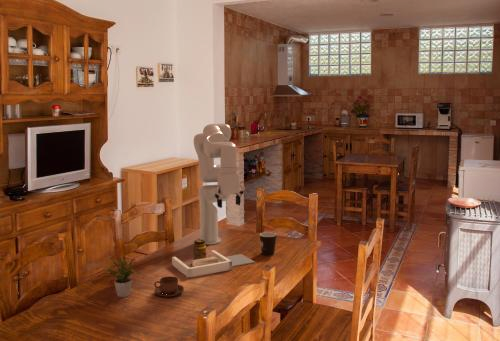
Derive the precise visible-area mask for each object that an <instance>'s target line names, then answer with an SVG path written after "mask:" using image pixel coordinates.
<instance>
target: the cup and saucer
mask: <svg viewBox="0 0 500 341" xmlns="http://www.w3.org/2000/svg"><path fill="white" fill-rule="evenodd" d="M153 284H154V293H155V294H156V295H158V296H160V297H164V298H165V297H166V298H170V297H175V296H178V295H181V294H182V293H183V292H184V288H185V287H184V286H183V285H181V284H179V278H178V277H177V276H172V275H171V276H163V277H161V278H160V280H156V281H155V282H154V283H153ZM157 284H159V286H157ZM162 293H163V294H162ZM166 294H167V295H166Z"/></svg>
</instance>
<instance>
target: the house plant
mask: <svg viewBox="0 0 500 341" xmlns="http://www.w3.org/2000/svg"><path fill="white" fill-rule="evenodd" d="M138 257H140V256H139V255H138V256H135V257H134V258H132V257H131V258H129V259H128V260H127V258H125V259H124V257H123V255H122V254H121V255H120V263H119V261H117V260H116V259H114V260H112V259H109V261H110V262H111V263H113V265H115V266H113V268H115V267H116V268H115V269H116V270H117V271H118V272H117V271H116V270H114V269H112V268H109V267H104V269H105V270H107V271H108V273H107V274H106V276H108V275H114V276H115V277H116V279H114V285H115V291H116V294H117V297H119V298H125V297H128V296H130V294H131V289H132V281H133V280H132V278H131V277H130V276H131V275H134V276H135V273H136V272H135V271H136V269H134V268H132V267H133V263H134V261H135V260H136V259H137V258H138ZM128 262H129V263H128ZM127 264H128V266H127ZM108 265H110V266H111V264H110V263H108ZM134 270H135V271H134Z"/></svg>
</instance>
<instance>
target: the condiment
mask: <svg viewBox="0 0 500 341" xmlns="http://www.w3.org/2000/svg"><path fill="white" fill-rule="evenodd" d="M193 242H194V243H193V260H197V259H204V258H207V246H206V244H205V240H202V239H199V238H198V239H196V240H194V241H193ZM186 265H187V266H188V267H190V268H191V267H192V264H191V263H188V264H186Z"/></svg>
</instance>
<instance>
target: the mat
mask: <svg viewBox="0 0 500 341" xmlns="http://www.w3.org/2000/svg"><path fill="white" fill-rule="evenodd" d="M225 257H226V258H228V259H229V260H231V261H232V268H236V267H240V266H246V265H250V264H251V265H252V264H255V263H256V261H255V260H252V259H251V258H249V257H248V256H246V255H244V254H242V253H240V254H233V255H229V256H225Z"/></svg>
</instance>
